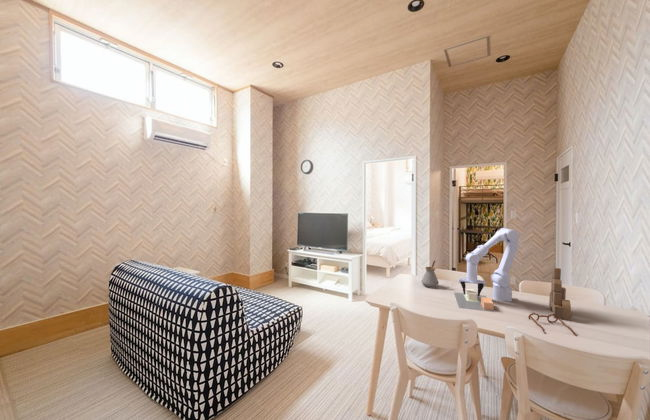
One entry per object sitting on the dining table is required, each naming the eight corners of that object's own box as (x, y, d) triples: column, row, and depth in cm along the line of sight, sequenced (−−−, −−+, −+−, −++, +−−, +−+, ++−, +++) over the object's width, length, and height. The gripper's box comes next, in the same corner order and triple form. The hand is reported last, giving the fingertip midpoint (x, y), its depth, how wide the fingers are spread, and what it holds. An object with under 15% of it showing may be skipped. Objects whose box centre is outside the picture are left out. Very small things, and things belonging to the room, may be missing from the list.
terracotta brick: (489, 304, 152) (490, 297, 152) (493, 310, 145) (493, 303, 144) (480, 303, 154) (481, 296, 153) (484, 309, 146) (484, 302, 146)
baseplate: (485, 297, 165) (485, 295, 165) (495, 314, 142) (495, 312, 142) (453, 293, 171) (453, 292, 171) (458, 309, 149) (459, 307, 149)
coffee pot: (436, 289, 179) (437, 268, 178) (419, 286, 185) (419, 265, 184) (442, 281, 196) (442, 261, 195) (426, 278, 203) (426, 259, 202)
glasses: (556, 323, 133) (557, 313, 133) (576, 337, 120) (577, 326, 120) (527, 321, 135) (528, 312, 135) (544, 335, 122) (545, 324, 122)
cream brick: (474, 295, 165) (474, 289, 165) (476, 300, 157) (476, 294, 157) (466, 295, 166) (466, 288, 166) (468, 299, 159) (468, 293, 159)
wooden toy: (571, 321, 134) (573, 273, 132) (554, 318, 137) (556, 271, 136) (564, 309, 147) (566, 265, 145) (548, 307, 150) (550, 264, 149)
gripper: (459, 273, 160) (459, 295, 160) (487, 276, 155) (486, 298, 156) (458, 270, 166) (457, 291, 167) (484, 272, 161) (483, 294, 162)
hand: (471, 294), depth 162 cm, fingers open, 7 cm apart
